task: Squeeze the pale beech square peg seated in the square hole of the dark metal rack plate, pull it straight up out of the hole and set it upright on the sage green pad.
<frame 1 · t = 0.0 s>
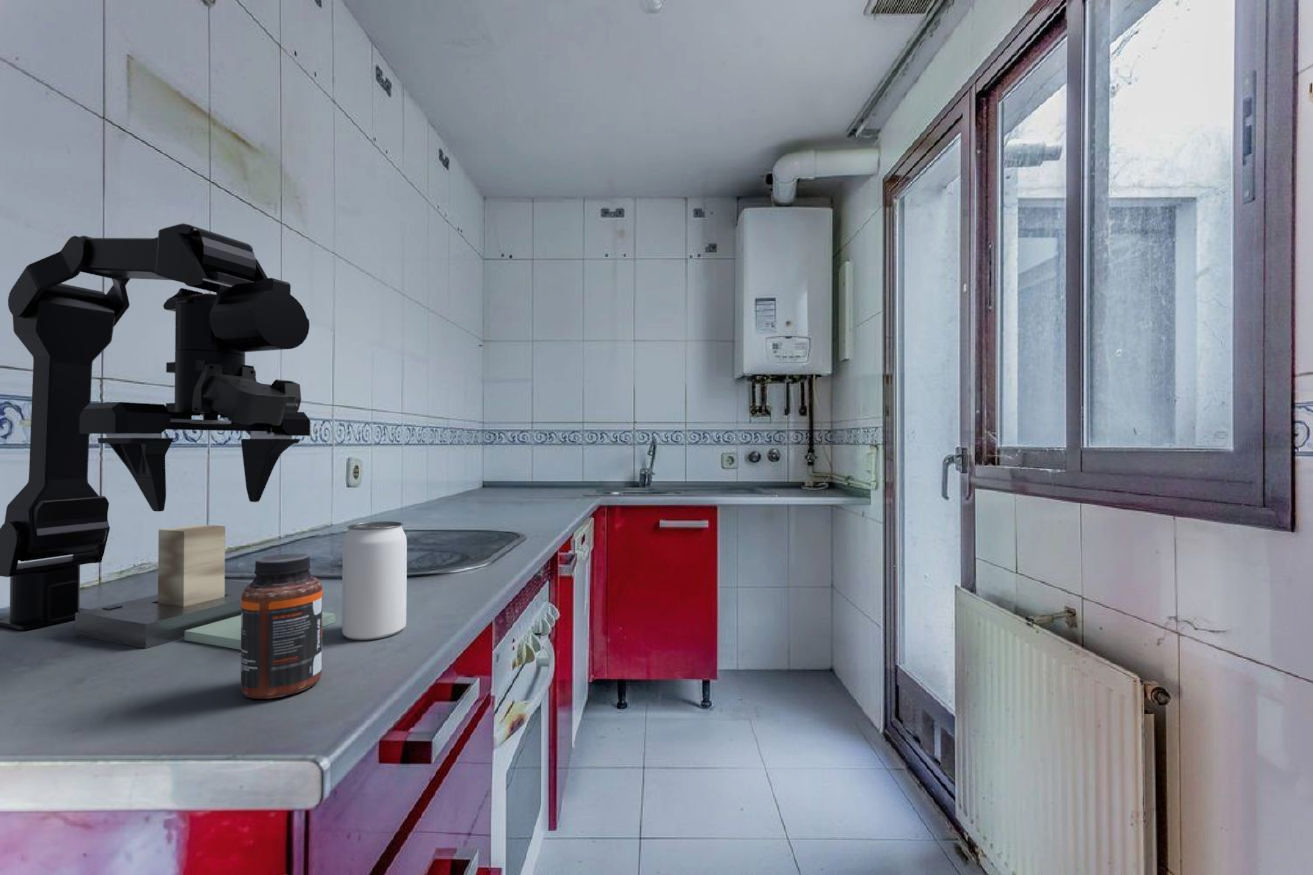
hand: (209, 506, 59), 15 cm above the table, fingers open, 9 cm apart
peg: (192, 573, 69), in the rack plate
pad: (263, 630, 65), on the table
rack plate: (191, 619, 69), on the table
supplement bottle: (282, 689, 50), on the table
can: (374, 633, 64), on the table
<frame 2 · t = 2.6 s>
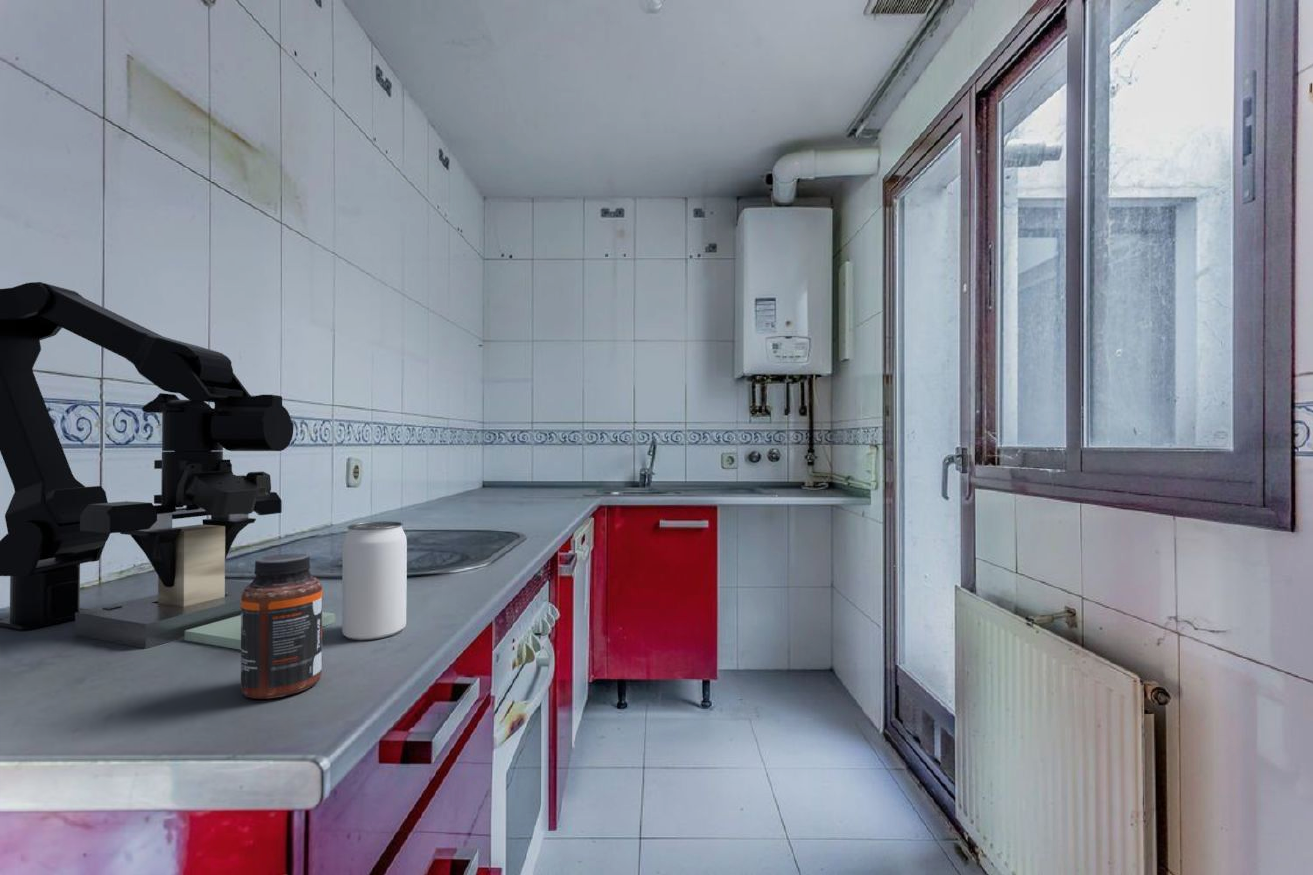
hand: (192, 581, 69), 5 cm above the table, fingers closed on peg, 4 cm apart
peg: (192, 573, 69), in the rack plate, touching gripper
everything else where it was.
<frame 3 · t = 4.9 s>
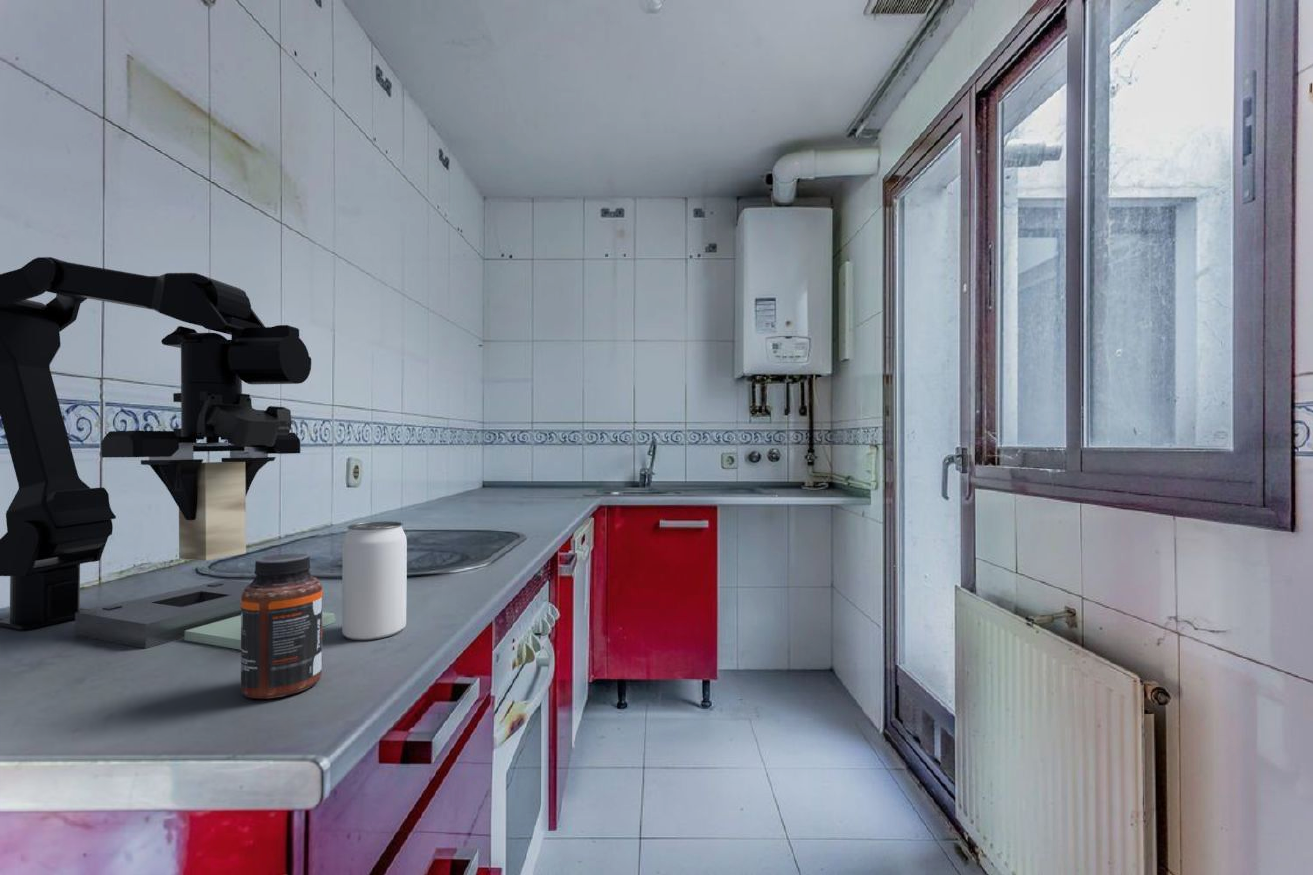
hand: (213, 517, 68), 12 cm above the table, fingers closed on peg, 4 cm apart
peg: (212, 509, 68), point 13 cm above the table, touching gripper
everything else where it was.
when the fingers open (6 cm above the table, at t = 7.2 s): peg stays where it is, resting on pad.
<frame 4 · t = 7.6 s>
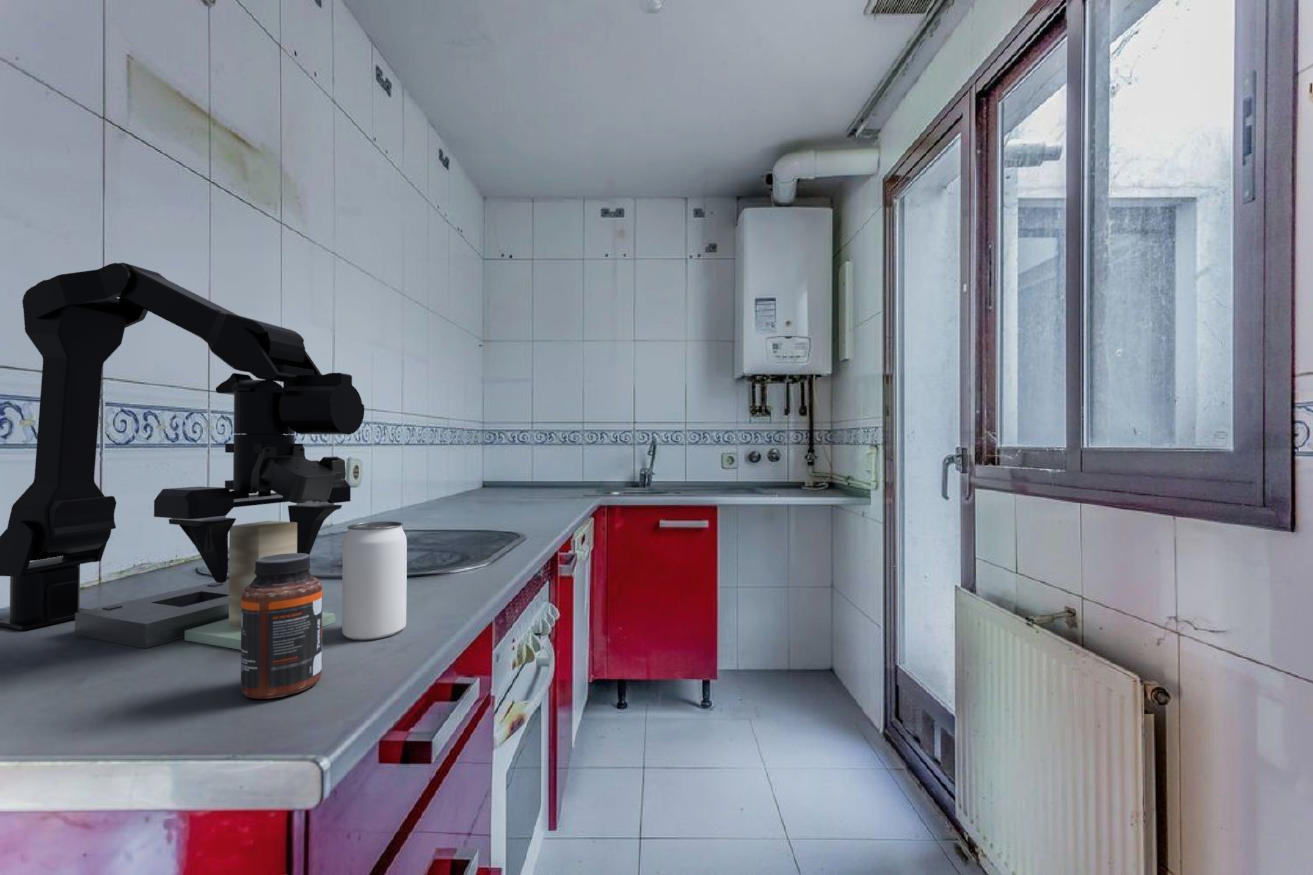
hand: (263, 572, 65), 6 cm above the table, fingers open, 9 cm apart
peg: (263, 572, 65), on the pad, point 6 cm above the table
everything else where it was.
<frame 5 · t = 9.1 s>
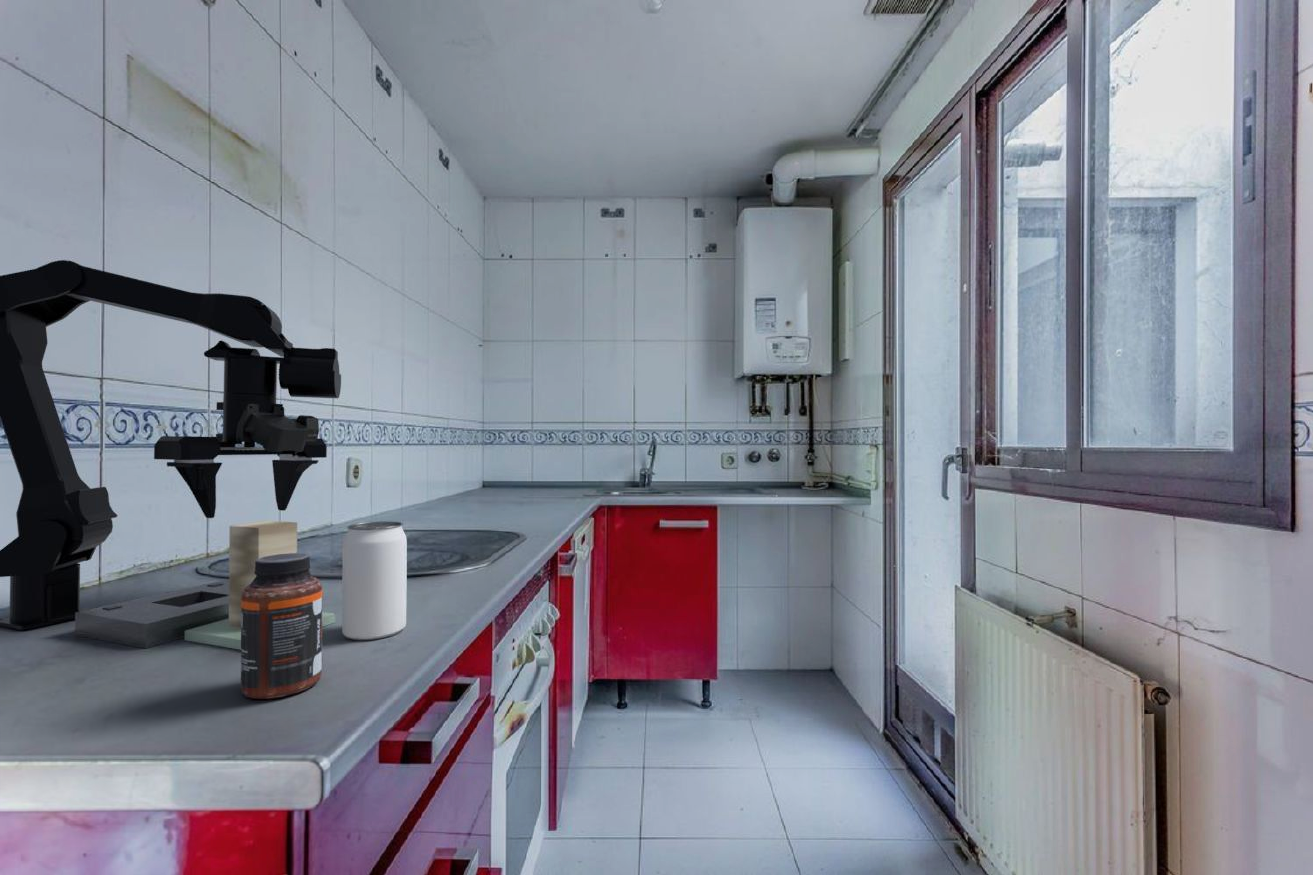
hand: (248, 513, 75), 12 cm above the table, fingers open, 9 cm apart
nothing on the table moved.
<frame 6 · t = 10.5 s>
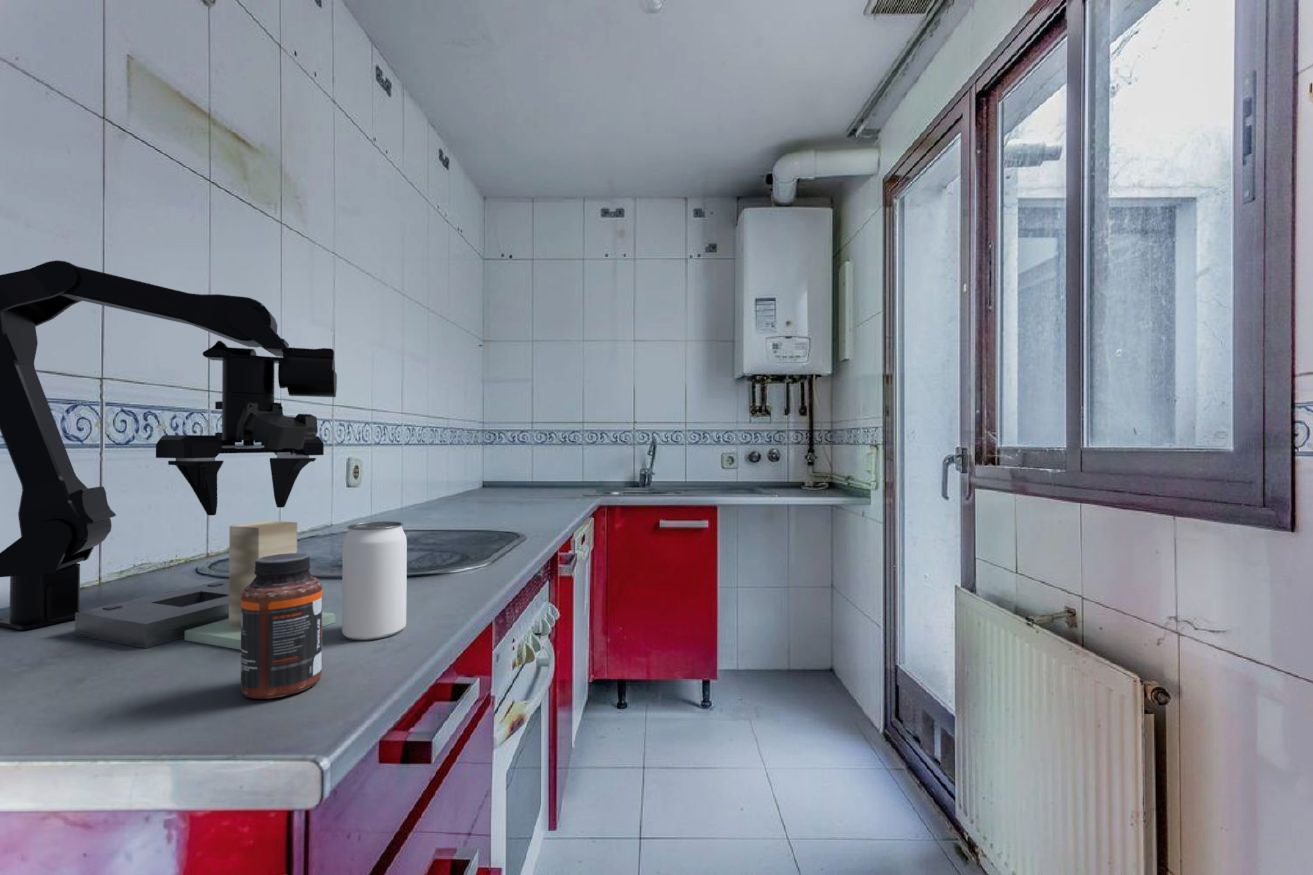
hand: (248, 511, 77), 12 cm above the table, fingers open, 9 cm apart
nothing on the table moved.
at the end: peg inside the target area on the pad (0.0 cm from its centre), point 6.5 cm above the pad's base; peg tilted 0°; the gripper is holding nothing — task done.
